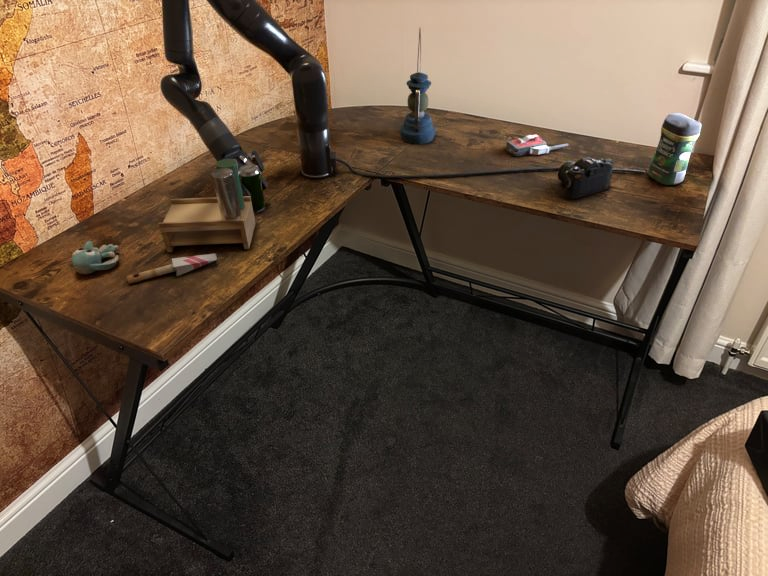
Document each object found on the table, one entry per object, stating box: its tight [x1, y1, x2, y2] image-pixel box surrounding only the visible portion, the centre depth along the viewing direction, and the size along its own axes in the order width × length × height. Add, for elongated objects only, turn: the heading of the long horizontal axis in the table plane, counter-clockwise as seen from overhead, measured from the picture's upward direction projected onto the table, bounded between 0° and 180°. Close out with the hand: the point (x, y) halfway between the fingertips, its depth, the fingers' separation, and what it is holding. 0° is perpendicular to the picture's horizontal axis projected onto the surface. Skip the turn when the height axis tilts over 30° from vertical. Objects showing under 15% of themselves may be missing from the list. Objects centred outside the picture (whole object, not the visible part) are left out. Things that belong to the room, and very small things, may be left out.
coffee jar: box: [647, 112, 702, 186], centre depth 156 cm, size 10×8×19 cm
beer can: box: [239, 163, 266, 214], centre depth 148 cm, size 5×5×12 cm
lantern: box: [399, 28, 436, 145], centre depth 177 cm, size 14×12×35 cm
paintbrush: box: [126, 253, 218, 285], centre depth 128 cm, size 4×3×20 cm
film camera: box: [557, 156, 615, 200], centre depth 155 cm, size 18×12×10 cm
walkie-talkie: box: [505, 133, 569, 157], centre depth 177 cm, size 9×4×20 cm
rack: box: [158, 159, 257, 253], centre depth 135 cm, size 20×12×19 cm, turn 93°
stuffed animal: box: [71, 240, 120, 275], centre depth 130 cm, size 11×7×12 cm
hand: (257, 192), depth 148 cm, fingers closed on beer can, 5 cm apart
